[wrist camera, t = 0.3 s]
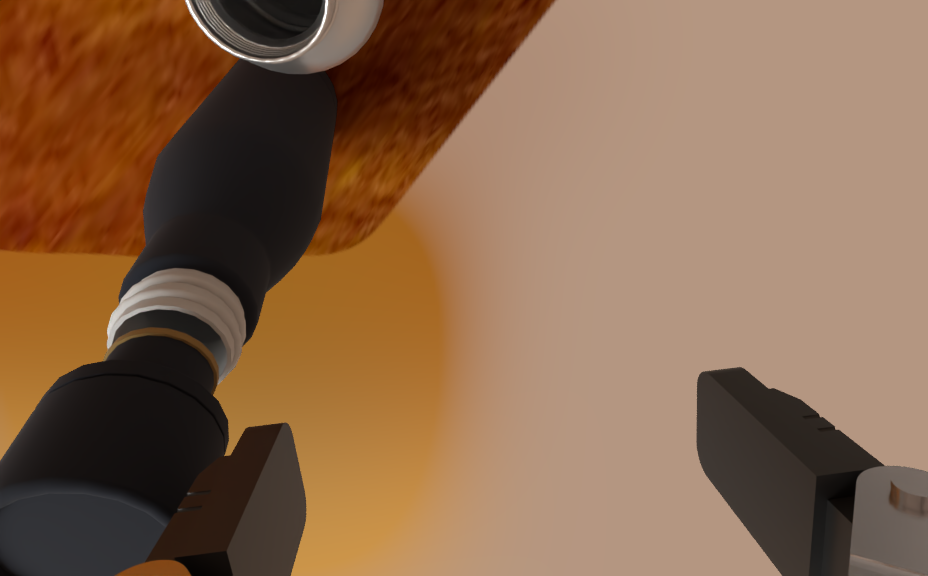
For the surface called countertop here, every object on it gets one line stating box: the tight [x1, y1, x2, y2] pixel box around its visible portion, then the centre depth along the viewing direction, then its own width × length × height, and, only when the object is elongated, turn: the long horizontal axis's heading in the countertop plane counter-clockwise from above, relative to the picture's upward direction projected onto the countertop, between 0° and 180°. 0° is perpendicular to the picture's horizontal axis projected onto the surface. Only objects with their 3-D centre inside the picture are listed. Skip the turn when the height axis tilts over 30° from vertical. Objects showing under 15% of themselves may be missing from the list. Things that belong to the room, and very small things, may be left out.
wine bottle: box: [0, 58, 337, 576], centre depth 23 cm, size 6×6×30 cm
